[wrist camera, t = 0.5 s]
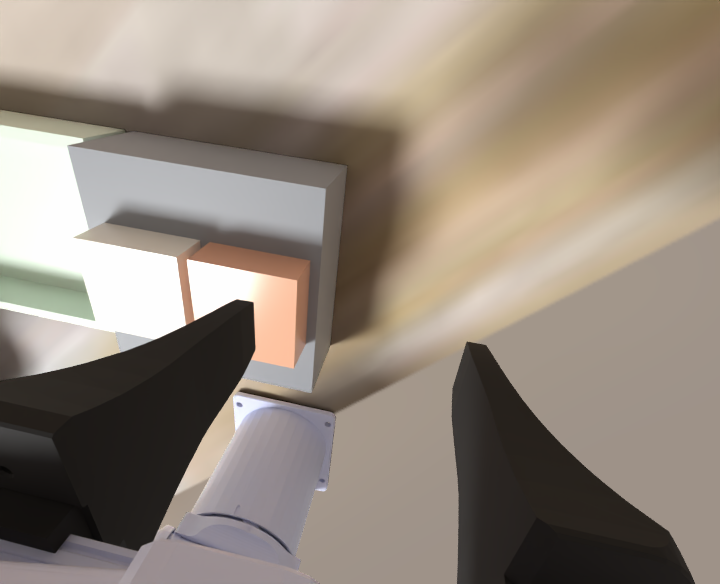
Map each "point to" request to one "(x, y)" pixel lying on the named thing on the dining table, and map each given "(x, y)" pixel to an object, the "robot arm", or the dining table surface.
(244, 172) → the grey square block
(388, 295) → the dining table surface
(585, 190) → the dining table surface
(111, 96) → the dining table surface
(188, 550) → the robot arm
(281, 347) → the terracotta tile
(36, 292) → the green bin
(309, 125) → the dining table surface
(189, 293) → the cream tile
